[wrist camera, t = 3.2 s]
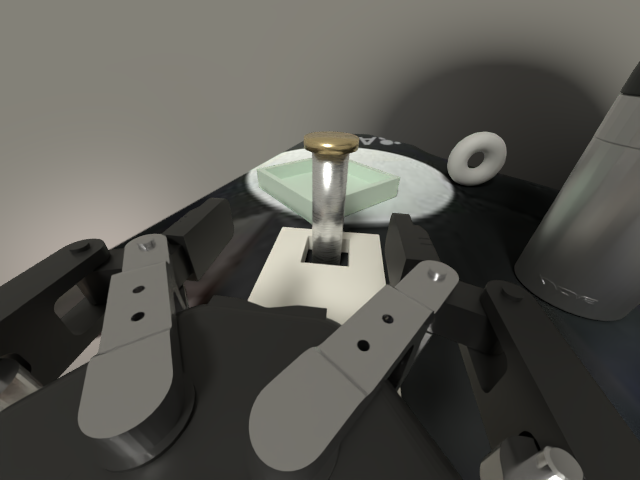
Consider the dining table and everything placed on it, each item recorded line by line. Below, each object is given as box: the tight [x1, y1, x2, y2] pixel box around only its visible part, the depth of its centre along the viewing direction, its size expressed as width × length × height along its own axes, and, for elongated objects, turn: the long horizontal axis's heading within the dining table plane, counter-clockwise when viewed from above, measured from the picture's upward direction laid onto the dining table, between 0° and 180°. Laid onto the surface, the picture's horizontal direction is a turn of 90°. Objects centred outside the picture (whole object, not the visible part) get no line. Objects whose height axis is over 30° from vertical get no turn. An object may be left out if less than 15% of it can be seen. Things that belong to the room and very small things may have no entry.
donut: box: [447, 132, 507, 186], centre depth 46 cm, size 10×4×10 cm, turn 86°
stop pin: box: [304, 132, 359, 266], centre depth 24 cm, size 5×5×14 cm
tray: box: [257, 158, 400, 224], centre depth 44 cm, size 18×18×4 cm
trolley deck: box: [248, 227, 401, 396], centre depth 22 cm, size 22×12×2 cm, turn 173°
